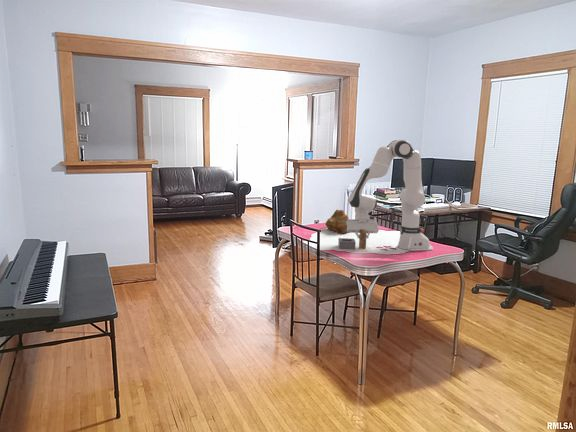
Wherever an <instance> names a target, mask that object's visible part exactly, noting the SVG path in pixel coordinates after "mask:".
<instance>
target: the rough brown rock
mask: <svg viewBox="0 0 576 432" xmlns="http://www.w3.org/2000/svg"><path fill="white" fill-rule="evenodd" d="M348 219H349V216H348V215H347V214H346V213H345V210H343V209H336V210H335V211H334V213H333V214H332V215H331V216H330V217H329V218H328V219H327V220H326V222H325V226H326V228H327V229H328V230H330V231H334V232H335V233H338V234H340V233H341V234H346V233H348V232H347V224H346V221H347V220H348Z"/></svg>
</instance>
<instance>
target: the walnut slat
mask: <svg viewBox="0 0 576 432" xmlns="http://www.w3.org/2000/svg"><path fill="white" fill-rule="evenodd" d="M359 235H360V238H358V239H359V241H358V246H359V249H366V246H367V239H366V236H367V235H368V234H367V230H366V229H360V233H359Z"/></svg>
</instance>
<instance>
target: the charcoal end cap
mask: <svg viewBox="0 0 576 432" xmlns="http://www.w3.org/2000/svg"><path fill="white" fill-rule="evenodd" d="M356 243H357V242H356V240H355V238H345V237H343V238H341V237H338V243H337V245H338V250H339V249H345V250H344V251H356V250H355V246H356Z"/></svg>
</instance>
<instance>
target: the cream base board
mask: <svg viewBox="0 0 576 432" xmlns="http://www.w3.org/2000/svg"><path fill="white" fill-rule="evenodd" d="M338 250H339V251H346V250H345V249H339V248H338ZM354 251H361V252H362V251H364V252H371V251H372V249H371V247H370V246H369V245H366V249H359V245H355V250H354Z"/></svg>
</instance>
